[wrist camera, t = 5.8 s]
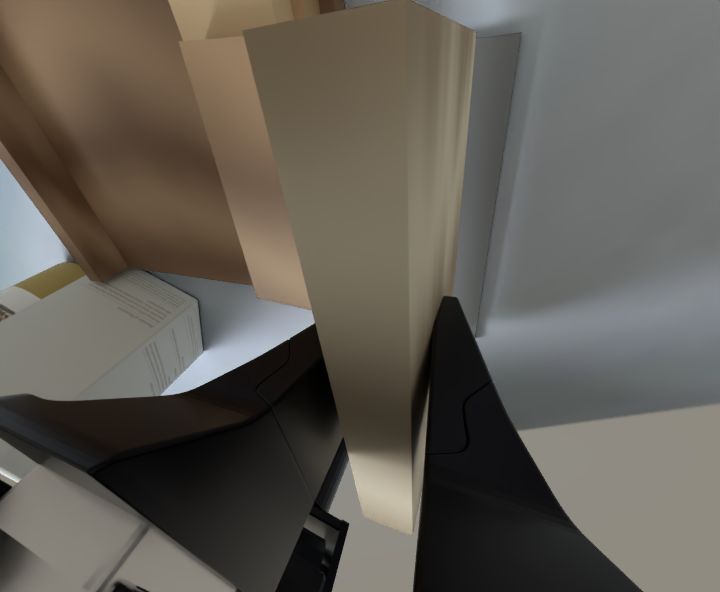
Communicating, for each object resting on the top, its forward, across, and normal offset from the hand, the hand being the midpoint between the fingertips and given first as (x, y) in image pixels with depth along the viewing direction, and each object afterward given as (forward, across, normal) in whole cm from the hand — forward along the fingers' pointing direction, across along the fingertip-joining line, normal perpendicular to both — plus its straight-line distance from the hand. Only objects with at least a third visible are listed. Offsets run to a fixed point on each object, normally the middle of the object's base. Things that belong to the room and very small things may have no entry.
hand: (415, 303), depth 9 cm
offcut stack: (+4, +6, -3) cm, 8 cm away
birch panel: (+3, 0, 0) cm, 3 cm away
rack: (+5, +13, -3) cm, 15 cm away
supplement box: (+6, +22, +8) cm, 24 cm away
